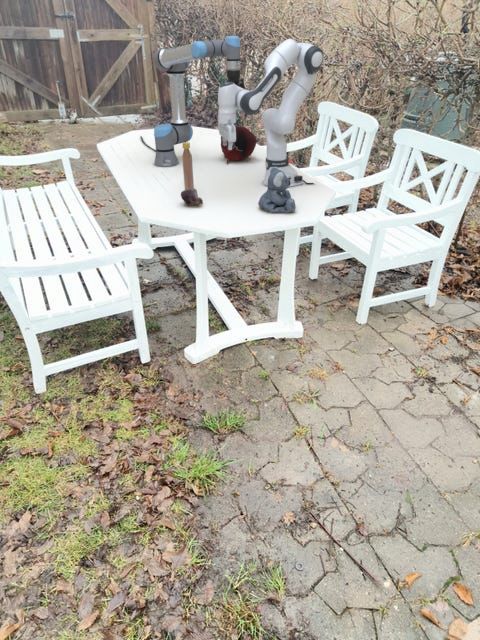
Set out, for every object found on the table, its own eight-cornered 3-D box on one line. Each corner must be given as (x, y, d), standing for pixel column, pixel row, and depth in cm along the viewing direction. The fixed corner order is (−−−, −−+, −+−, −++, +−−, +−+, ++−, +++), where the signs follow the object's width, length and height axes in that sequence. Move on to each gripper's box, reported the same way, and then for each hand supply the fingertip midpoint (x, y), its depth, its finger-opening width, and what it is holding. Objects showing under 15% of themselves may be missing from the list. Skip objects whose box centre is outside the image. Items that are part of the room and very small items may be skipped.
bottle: (193, 190, 249) (190, 142, 235) (194, 193, 245) (191, 144, 231) (184, 191, 249) (181, 142, 234) (185, 194, 245) (181, 145, 230)
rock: (196, 202, 238) (178, 205, 233) (194, 185, 234) (176, 188, 230) (205, 205, 228) (187, 208, 224) (203, 188, 224) (185, 191, 220)
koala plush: (296, 213, 220) (299, 173, 208) (260, 215, 219) (260, 174, 207) (290, 201, 234) (292, 163, 223) (256, 202, 233) (256, 164, 222)
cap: (189, 146, 235) (189, 141, 234) (190, 148, 232) (189, 143, 231) (182, 147, 235) (182, 142, 234) (182, 148, 232) (182, 143, 231)
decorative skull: (217, 132, 306) (217, 129, 282) (251, 124, 305) (253, 121, 281) (224, 164, 313) (224, 164, 289) (257, 157, 312) (260, 156, 288)
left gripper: (222, 72, 234) (223, 116, 246) (253, 68, 249) (253, 109, 261) (212, 71, 238) (213, 114, 250) (243, 67, 253) (243, 108, 265)
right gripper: (239, 122, 217) (239, 152, 225) (227, 114, 234) (228, 142, 241) (226, 123, 216) (227, 152, 224) (216, 115, 232) (216, 143, 240)
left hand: (234, 112), depth 255 cm, fingers open, 13 cm apart
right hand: (227, 147), depth 233 cm, fingers open, 8 cm apart
